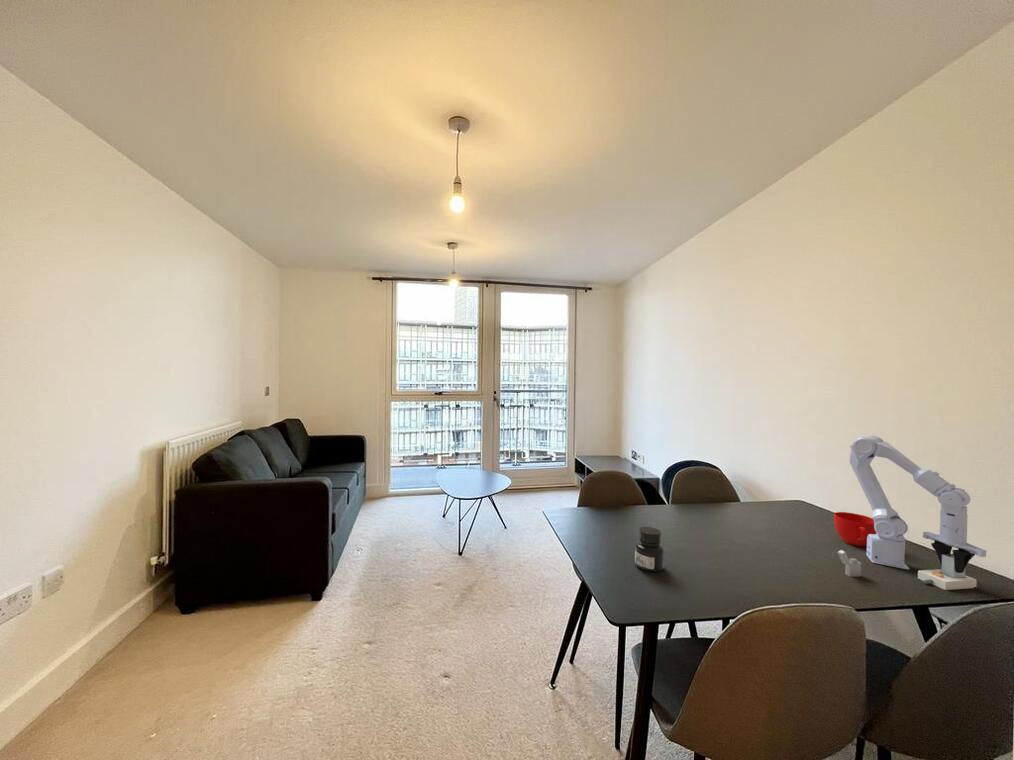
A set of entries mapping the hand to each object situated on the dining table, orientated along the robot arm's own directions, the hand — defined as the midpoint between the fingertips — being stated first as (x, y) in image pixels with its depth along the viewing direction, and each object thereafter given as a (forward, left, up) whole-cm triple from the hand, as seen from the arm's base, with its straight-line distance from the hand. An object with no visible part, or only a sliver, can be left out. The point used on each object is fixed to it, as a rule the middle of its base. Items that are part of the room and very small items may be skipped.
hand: (952, 569), depth 125 cm
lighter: (-28, -12, -4) cm, 30 cm away
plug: (0, 0, -3) cm, 3 cm away
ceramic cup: (-19, +22, -4) cm, 29 cm away
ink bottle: (-85, -42, -4) cm, 95 cm away
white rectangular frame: (-3, -2, -4) cm, 5 cm away
